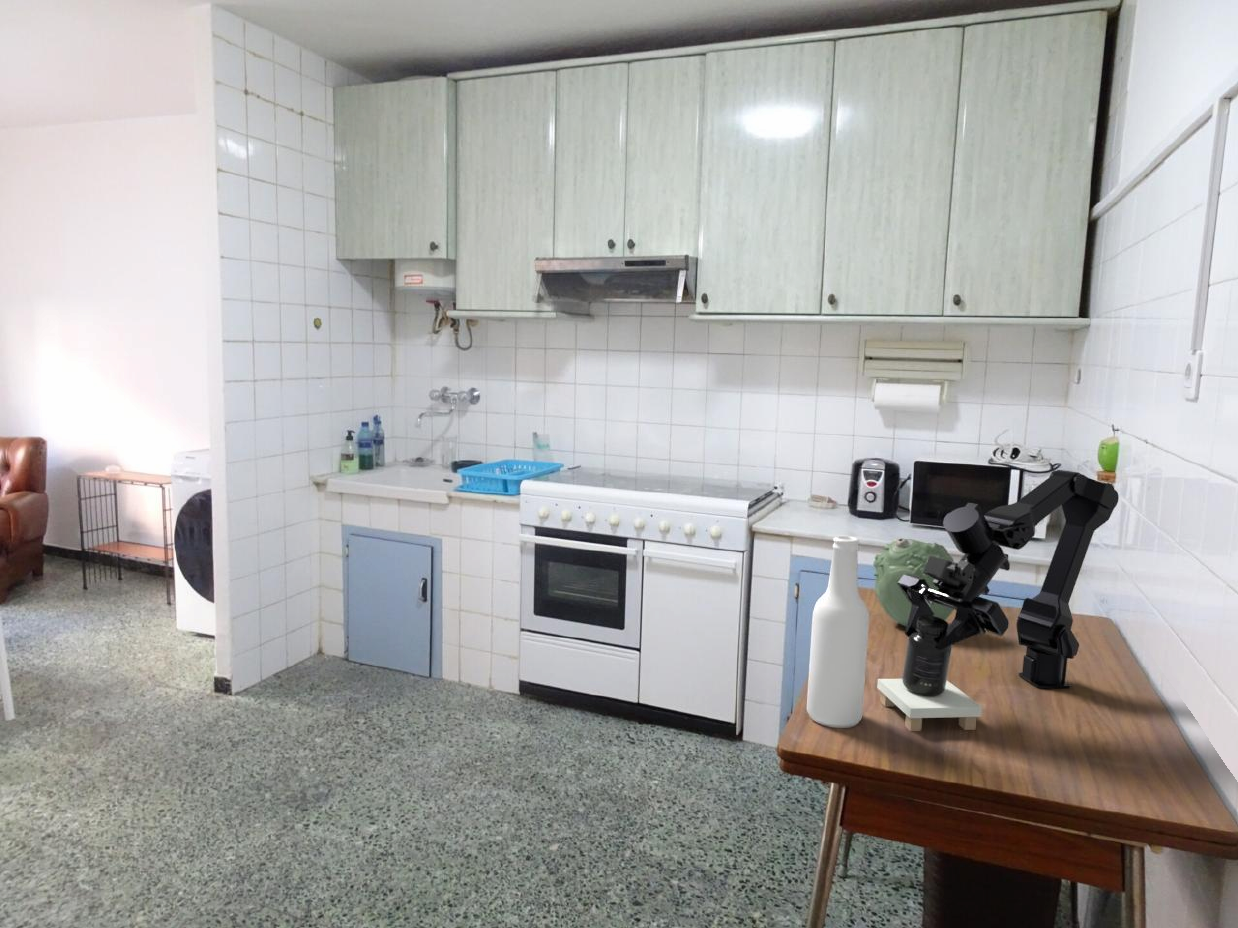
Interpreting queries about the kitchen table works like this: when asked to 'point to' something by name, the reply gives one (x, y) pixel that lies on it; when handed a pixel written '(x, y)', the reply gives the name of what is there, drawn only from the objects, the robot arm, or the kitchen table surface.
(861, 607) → the alcohol
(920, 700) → the white square riser
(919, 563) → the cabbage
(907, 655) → the supplement bottle
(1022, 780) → the kitchen table surface
